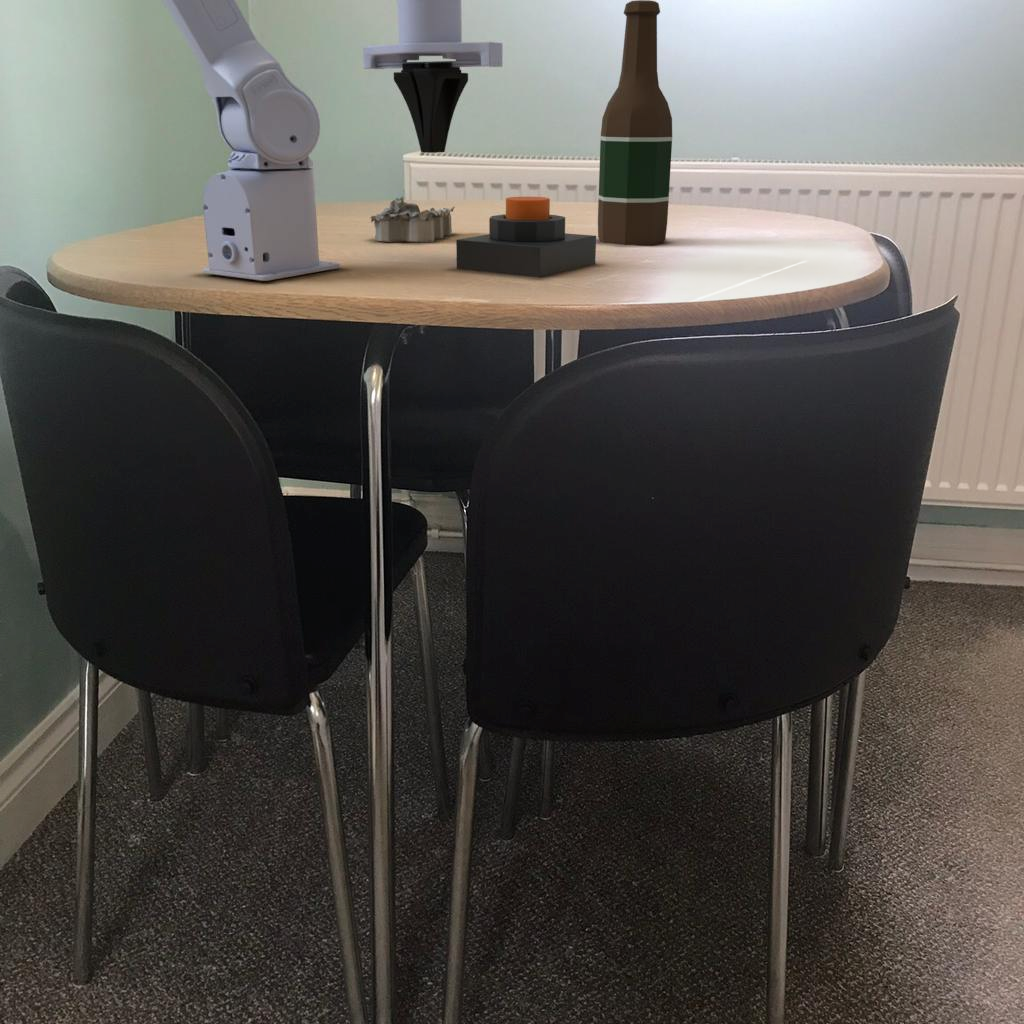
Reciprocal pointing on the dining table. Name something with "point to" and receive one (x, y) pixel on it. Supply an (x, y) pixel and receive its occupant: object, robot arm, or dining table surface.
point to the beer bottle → (636, 141)
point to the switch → (527, 208)
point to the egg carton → (411, 223)
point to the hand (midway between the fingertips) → (432, 152)
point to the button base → (526, 248)
